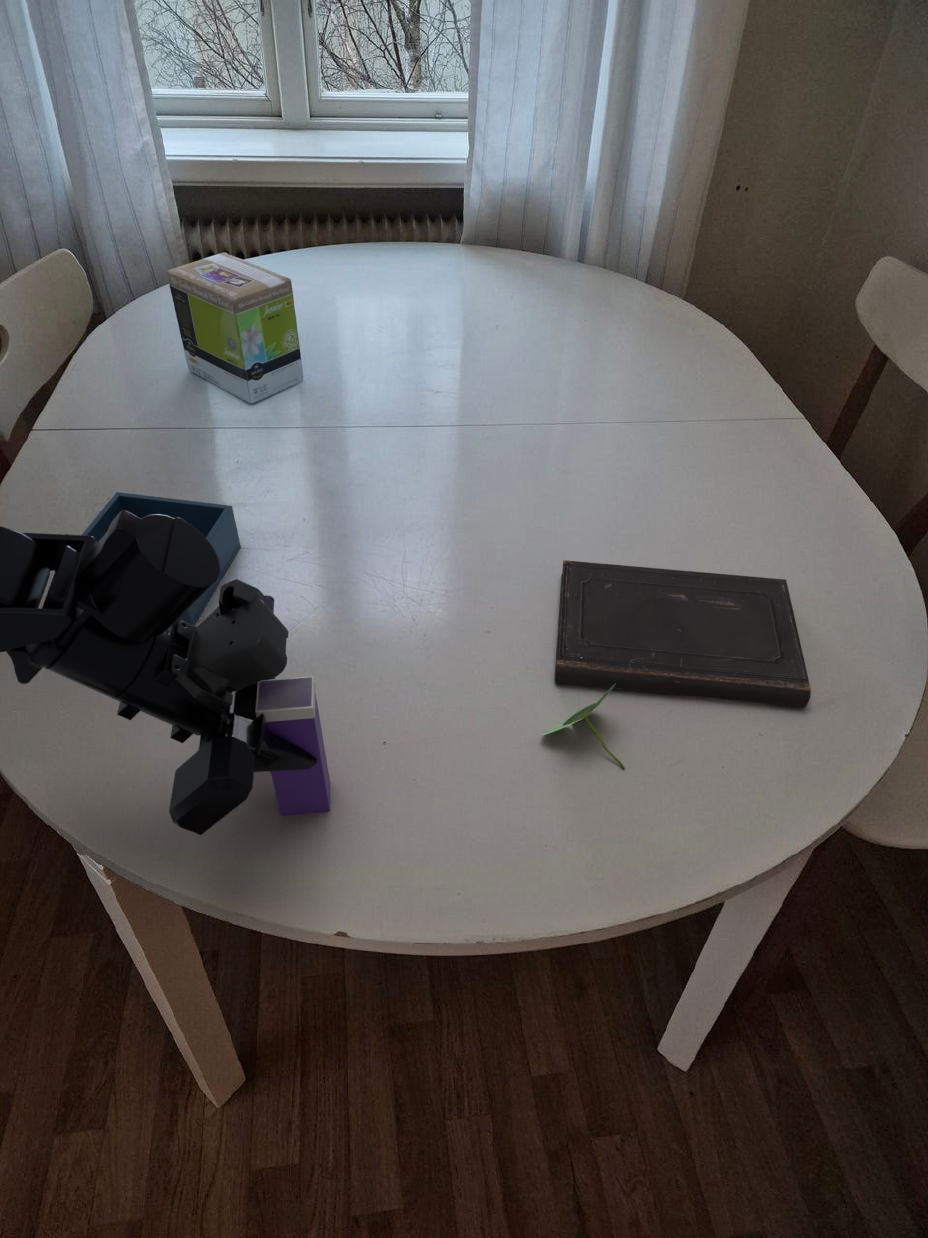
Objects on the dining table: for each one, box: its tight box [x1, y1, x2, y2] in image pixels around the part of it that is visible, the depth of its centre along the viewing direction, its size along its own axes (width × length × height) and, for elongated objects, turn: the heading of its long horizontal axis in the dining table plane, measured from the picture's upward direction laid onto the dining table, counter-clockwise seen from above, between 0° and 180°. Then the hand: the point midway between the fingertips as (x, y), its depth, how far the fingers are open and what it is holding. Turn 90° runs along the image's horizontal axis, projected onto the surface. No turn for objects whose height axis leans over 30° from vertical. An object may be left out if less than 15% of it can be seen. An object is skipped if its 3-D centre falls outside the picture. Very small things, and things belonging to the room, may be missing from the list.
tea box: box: [166, 251, 304, 404], centre depth 119 cm, size 15×10×15 cm
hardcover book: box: [553, 559, 812, 708], centre depth 85 cm, size 16×23×2 cm
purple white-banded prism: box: [255, 675, 331, 816], centre depth 67 cm, size 4×3×13 cm
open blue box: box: [53, 491, 242, 626], centre depth 90 cm, size 13×13×6 cm
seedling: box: [541, 683, 626, 771], centre depth 74 cm, size 7×8×6 cm
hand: (313, 747), depth 67 cm, fingers closed on purple white-banded prism, 3 cm apart
